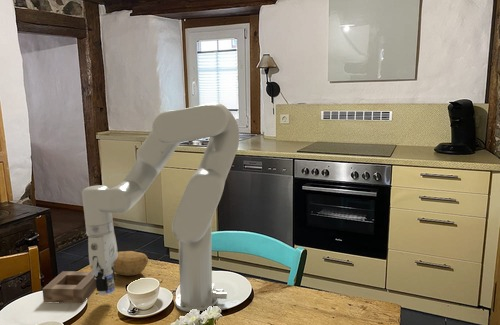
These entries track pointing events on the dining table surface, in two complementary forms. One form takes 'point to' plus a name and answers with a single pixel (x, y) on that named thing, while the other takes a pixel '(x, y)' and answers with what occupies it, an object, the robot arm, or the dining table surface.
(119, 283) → the dining table surface
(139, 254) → the potato
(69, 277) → the socket block
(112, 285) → the pill bottle
